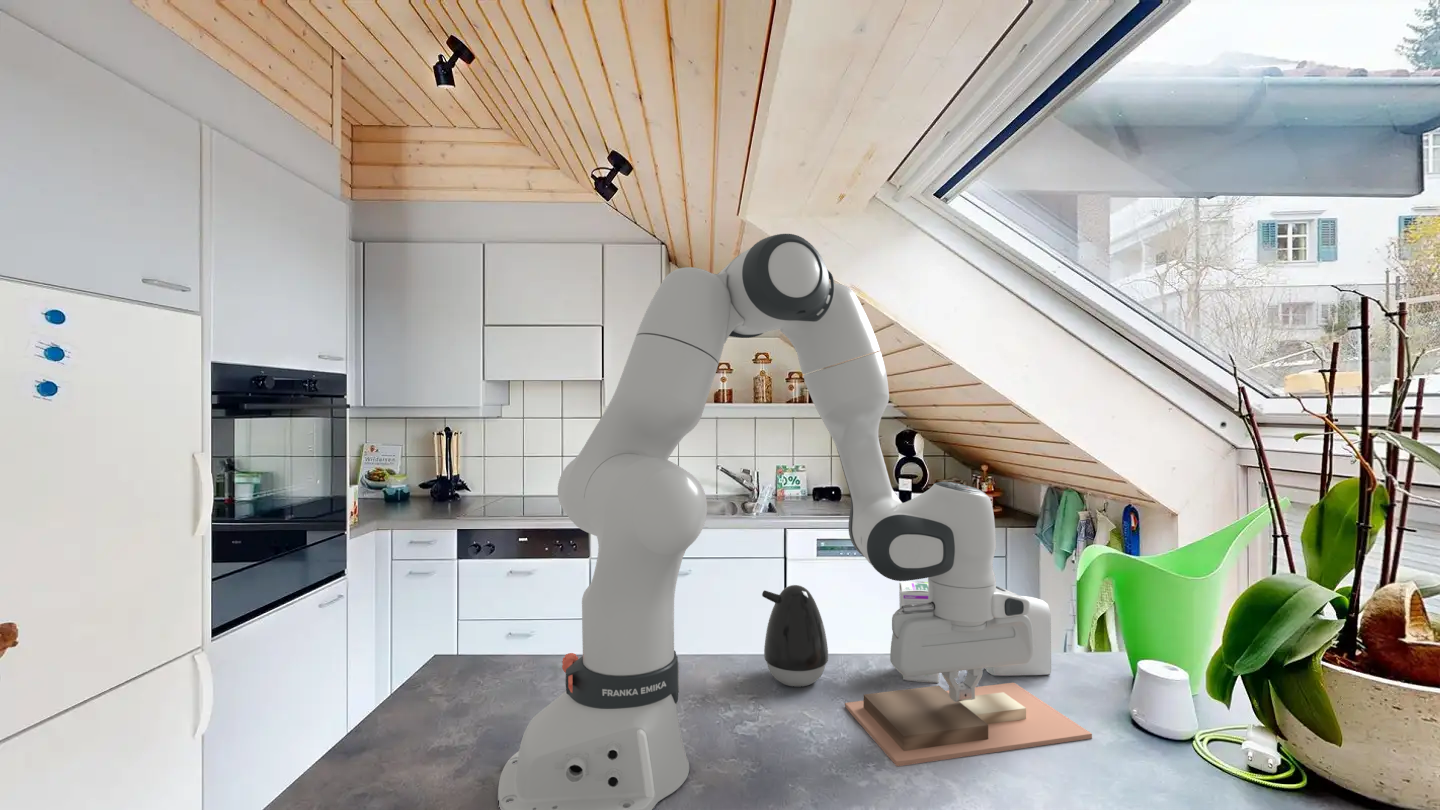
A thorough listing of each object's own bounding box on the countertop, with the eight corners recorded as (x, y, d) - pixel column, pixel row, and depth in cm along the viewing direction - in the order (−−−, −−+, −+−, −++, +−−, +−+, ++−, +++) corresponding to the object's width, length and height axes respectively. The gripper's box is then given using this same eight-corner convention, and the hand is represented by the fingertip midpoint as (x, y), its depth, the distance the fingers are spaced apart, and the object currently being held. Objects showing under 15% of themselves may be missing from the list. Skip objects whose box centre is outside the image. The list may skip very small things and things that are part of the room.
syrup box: (940, 683, 105) (939, 591, 105) (901, 680, 107) (900, 590, 106) (935, 668, 111) (935, 581, 111) (899, 666, 112) (898, 580, 112)
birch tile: (974, 725, 91) (974, 714, 91) (953, 708, 96) (953, 698, 96) (1026, 718, 93) (1026, 708, 93) (1003, 702, 98) (1003, 692, 97)
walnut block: (903, 755, 85) (903, 736, 85) (863, 711, 97) (863, 694, 96) (988, 743, 87) (988, 724, 87) (939, 702, 99) (939, 685, 99)
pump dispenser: (762, 666, 113) (761, 576, 112) (824, 666, 112) (823, 576, 112) (764, 694, 103) (762, 595, 102) (832, 694, 102) (831, 595, 102)
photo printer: (991, 678, 107) (991, 601, 107) (981, 667, 112) (980, 593, 111) (1056, 677, 107) (1055, 600, 107) (1043, 666, 111) (1043, 592, 111)
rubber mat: (896, 766, 82) (896, 761, 82) (845, 706, 98) (845, 702, 98) (1092, 738, 88) (1091, 733, 88) (1013, 686, 104) (1013, 682, 104)
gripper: (903, 613, 88) (904, 718, 88) (1040, 601, 92) (1040, 701, 92) (881, 598, 94) (882, 697, 94) (1011, 588, 98) (1011, 681, 98)
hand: (961, 699), depth 93 cm, fingers closed
